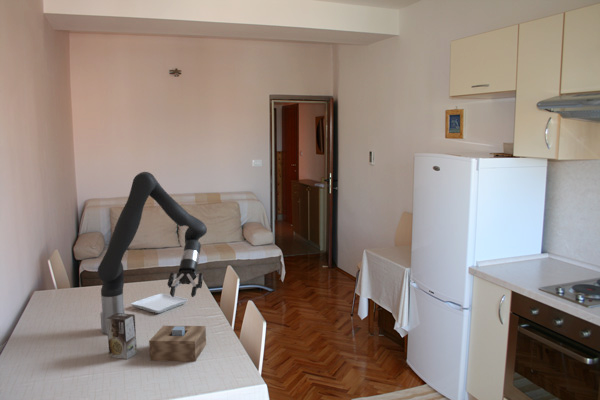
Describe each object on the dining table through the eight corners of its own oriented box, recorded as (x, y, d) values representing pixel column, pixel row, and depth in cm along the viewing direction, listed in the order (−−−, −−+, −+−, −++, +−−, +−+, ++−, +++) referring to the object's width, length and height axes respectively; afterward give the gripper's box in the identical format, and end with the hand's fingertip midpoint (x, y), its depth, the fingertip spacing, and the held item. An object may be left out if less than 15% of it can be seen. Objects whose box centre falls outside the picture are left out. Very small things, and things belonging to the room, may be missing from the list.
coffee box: (137, 352, 197) (135, 314, 195) (127, 359, 191) (124, 319, 189) (119, 350, 200) (116, 312, 198) (108, 356, 194) (105, 317, 192)
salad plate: (189, 304, 257) (189, 298, 257) (158, 316, 240) (157, 310, 239) (161, 298, 269) (161, 292, 268) (129, 309, 251) (129, 303, 250)
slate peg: (173, 354, 195) (171, 330, 194) (175, 349, 199) (174, 326, 198) (183, 354, 195) (181, 330, 194) (185, 349, 199) (184, 326, 198)
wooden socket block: (150, 360, 189) (149, 340, 188) (164, 343, 205) (163, 325, 204) (195, 361, 188) (194, 341, 187) (206, 344, 204) (205, 325, 203)
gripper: (171, 257, 209) (163, 291, 199) (203, 258, 208) (197, 292, 198) (175, 266, 215) (167, 300, 205) (207, 267, 214) (201, 300, 204)
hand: (182, 296), depth 202 cm, fingers open, 8 cm apart
